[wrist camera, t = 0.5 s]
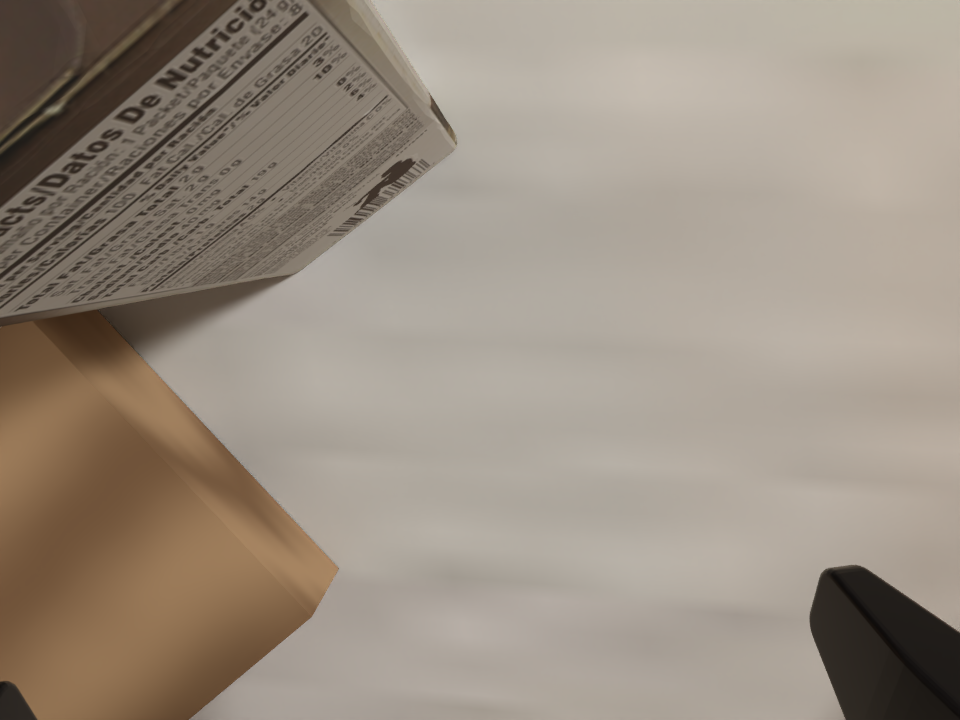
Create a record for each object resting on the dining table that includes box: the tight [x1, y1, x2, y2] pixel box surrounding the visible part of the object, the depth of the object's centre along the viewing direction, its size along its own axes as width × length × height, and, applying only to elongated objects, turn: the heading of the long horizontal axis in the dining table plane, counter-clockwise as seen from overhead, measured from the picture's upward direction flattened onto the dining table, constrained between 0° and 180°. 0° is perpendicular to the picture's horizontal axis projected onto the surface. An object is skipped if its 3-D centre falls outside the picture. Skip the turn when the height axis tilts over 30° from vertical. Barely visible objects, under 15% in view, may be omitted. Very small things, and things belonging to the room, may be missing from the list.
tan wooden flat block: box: [0, 310, 339, 720], centre depth 22 cm, size 11×11×3 cm
